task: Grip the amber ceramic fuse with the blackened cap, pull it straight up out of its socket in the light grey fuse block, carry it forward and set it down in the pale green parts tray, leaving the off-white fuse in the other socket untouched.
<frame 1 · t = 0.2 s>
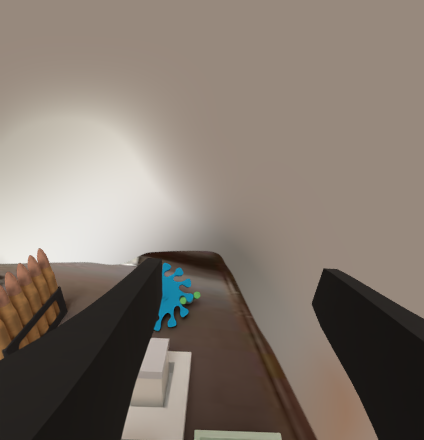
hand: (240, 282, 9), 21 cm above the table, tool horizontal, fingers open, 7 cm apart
gear: (165, 313, 34), on the table
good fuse: (151, 393, 23), point 1 cm above the table, touching fuse block
ammunition clip: (39, 342, 28), on the table
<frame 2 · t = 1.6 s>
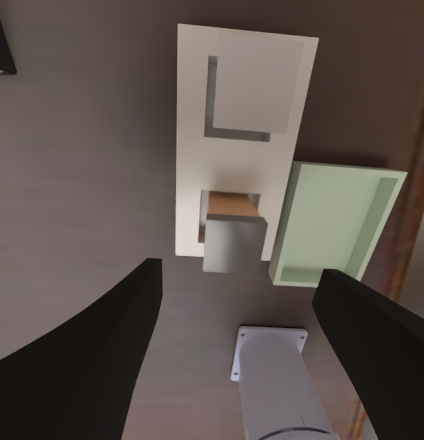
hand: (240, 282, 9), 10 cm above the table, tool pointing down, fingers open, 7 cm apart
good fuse: (237, 105, 15), point 1 cm above the table, touching fuse block
parts tray: (320, 225, 19), on the table
fuse block: (230, 162, 17), on the table
blown fuse: (225, 210, 18), point 1 cm above the table, touching fuse block
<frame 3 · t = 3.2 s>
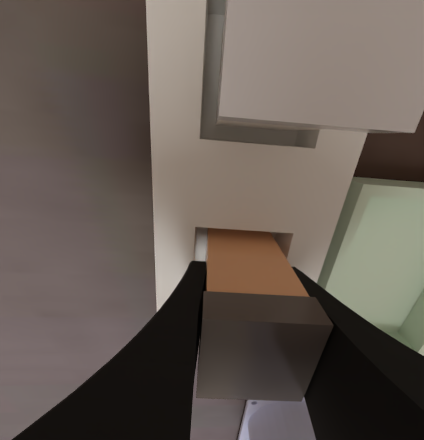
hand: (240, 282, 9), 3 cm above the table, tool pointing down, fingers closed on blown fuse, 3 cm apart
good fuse: (256, 86, 9), point 1 cm above the table, touching fuse block
parts tray: (371, 267, 13), on the table
fuse block: (241, 178, 11), on the table
blown fuse: (234, 249, 12), point 1 cm above the table, touching fuse block, gripper
when the fingers open (5 cm above the table, at t = 6.6 s): blown fuse drops 1 cm, resting on parts tray.
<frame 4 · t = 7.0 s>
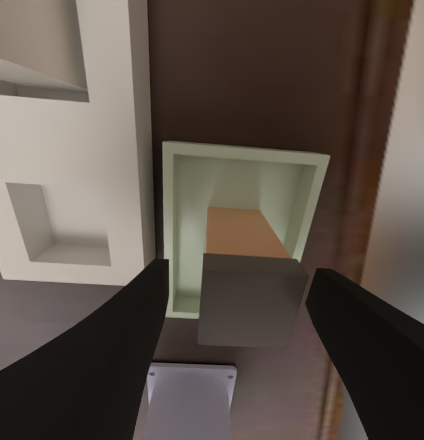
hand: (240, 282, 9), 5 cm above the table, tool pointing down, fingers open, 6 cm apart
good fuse: (56, 49, 9), point 1 cm above the table, touching fuse block
parts tray: (230, 234, 14), on the table
fuse block: (79, 142, 11), on the table
blown fuse: (230, 232, 13), resting on parts tray
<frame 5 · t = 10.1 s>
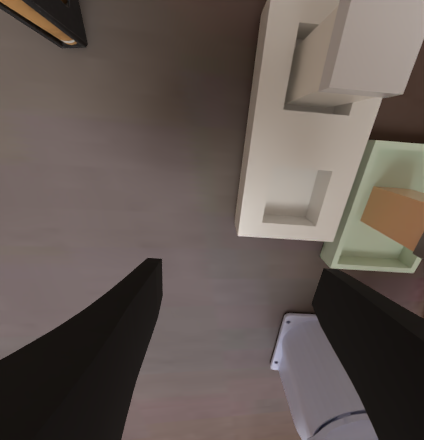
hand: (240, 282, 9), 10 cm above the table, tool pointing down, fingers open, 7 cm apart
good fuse: (311, 80, 14), point 1 cm above the table, touching fuse block
parts tray: (379, 207, 19), on the table
fuse block: (294, 140, 17), on the table
blown fuse: (384, 205, 18), resting on parts tray
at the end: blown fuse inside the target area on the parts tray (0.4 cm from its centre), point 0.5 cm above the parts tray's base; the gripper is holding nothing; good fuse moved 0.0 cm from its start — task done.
